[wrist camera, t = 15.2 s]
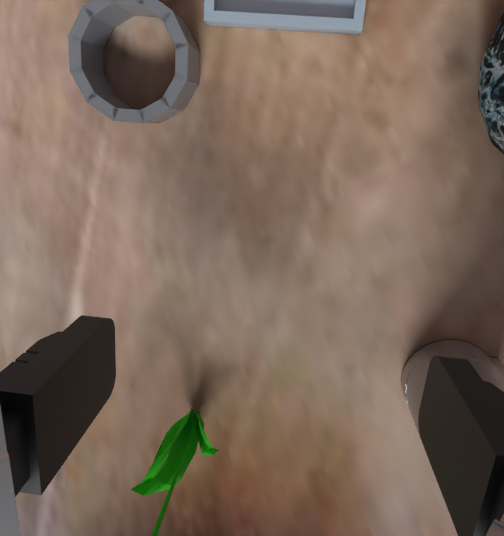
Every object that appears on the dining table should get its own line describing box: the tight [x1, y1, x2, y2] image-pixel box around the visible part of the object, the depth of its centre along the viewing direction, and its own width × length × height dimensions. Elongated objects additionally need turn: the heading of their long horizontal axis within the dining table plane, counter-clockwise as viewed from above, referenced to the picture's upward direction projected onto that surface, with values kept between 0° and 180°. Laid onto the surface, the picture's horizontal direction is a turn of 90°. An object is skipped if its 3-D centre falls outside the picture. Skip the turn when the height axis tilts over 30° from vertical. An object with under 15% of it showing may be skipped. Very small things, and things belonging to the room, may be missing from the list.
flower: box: [131, 408, 219, 536], centre depth 37 cm, size 9×8×30 cm
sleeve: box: [68, 0, 200, 123], centre depth 39 cm, size 10×10×4 cm
